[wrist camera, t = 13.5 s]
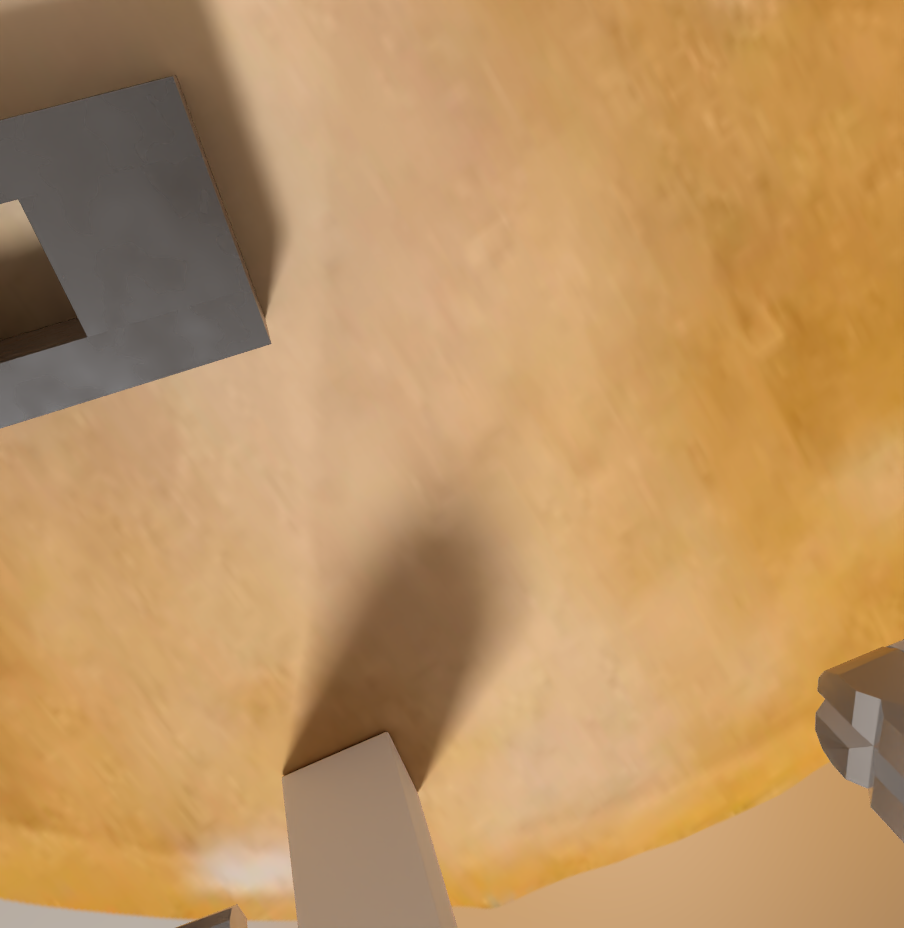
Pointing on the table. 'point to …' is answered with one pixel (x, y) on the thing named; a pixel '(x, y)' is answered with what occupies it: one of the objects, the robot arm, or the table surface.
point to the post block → (122, 249)
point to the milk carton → (362, 843)
